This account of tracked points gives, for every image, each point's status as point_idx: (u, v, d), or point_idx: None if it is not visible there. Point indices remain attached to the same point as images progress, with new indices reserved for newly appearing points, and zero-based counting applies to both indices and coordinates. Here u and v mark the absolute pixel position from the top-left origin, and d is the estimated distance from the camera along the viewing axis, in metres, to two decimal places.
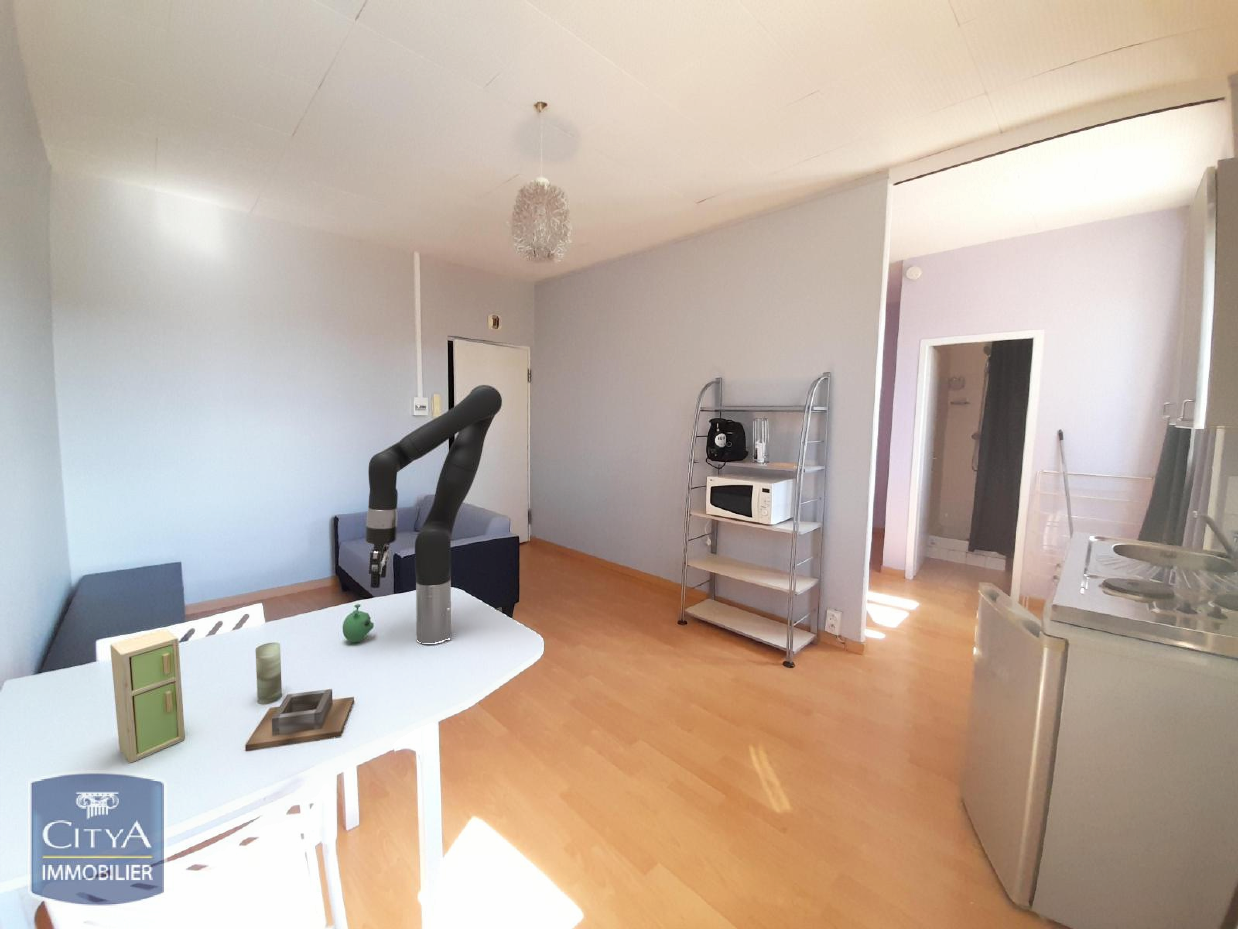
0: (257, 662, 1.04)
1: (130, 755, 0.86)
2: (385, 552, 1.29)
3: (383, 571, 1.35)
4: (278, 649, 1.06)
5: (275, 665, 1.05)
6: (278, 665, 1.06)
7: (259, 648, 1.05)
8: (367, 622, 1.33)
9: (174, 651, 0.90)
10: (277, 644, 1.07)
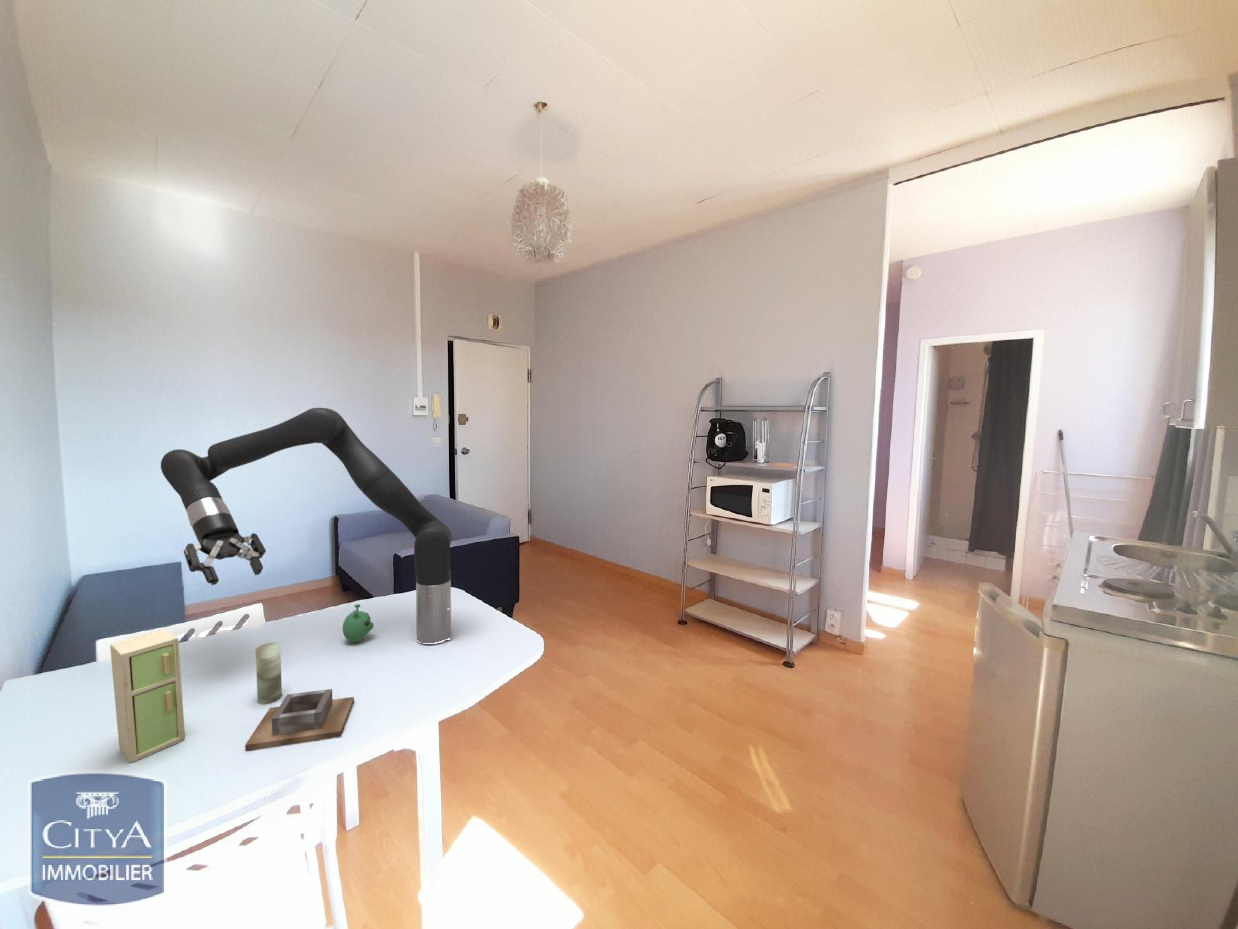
0: (257, 662, 1.04)
1: (130, 755, 0.86)
2: (215, 543, 1.09)
3: (255, 566, 1.13)
4: (278, 649, 1.06)
5: (275, 665, 1.05)
6: (278, 665, 1.06)
7: (259, 648, 1.05)
8: (367, 622, 1.33)
9: (174, 651, 0.90)
10: (277, 644, 1.07)
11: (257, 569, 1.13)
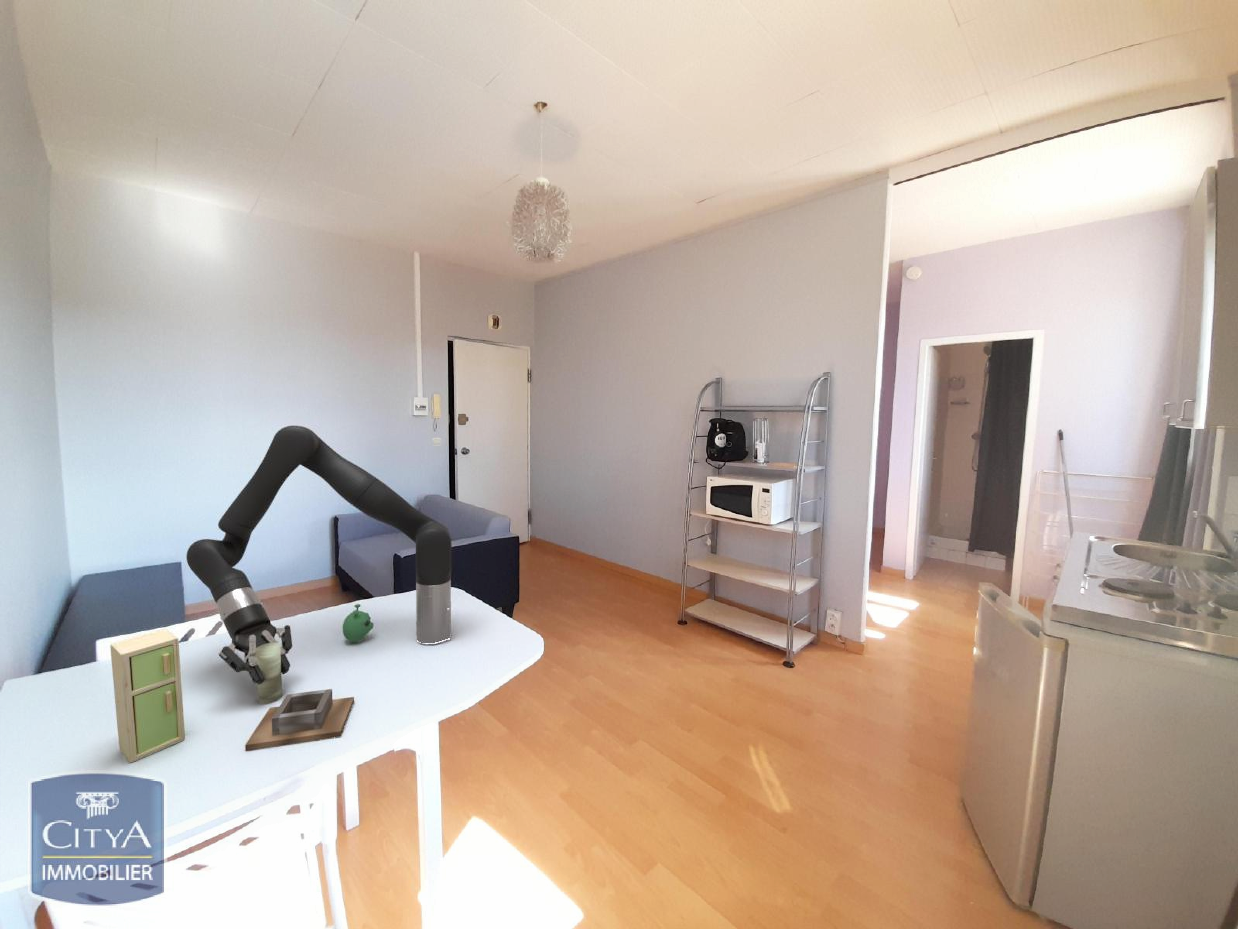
0: (257, 662, 1.04)
1: (130, 755, 0.86)
2: (248, 640, 1.05)
3: (281, 664, 1.08)
4: (278, 649, 1.06)
5: (275, 665, 1.05)
6: (278, 665, 1.06)
7: (259, 647, 1.05)
8: (367, 622, 1.33)
9: (174, 651, 0.90)
10: (277, 644, 1.07)
11: (284, 668, 1.07)
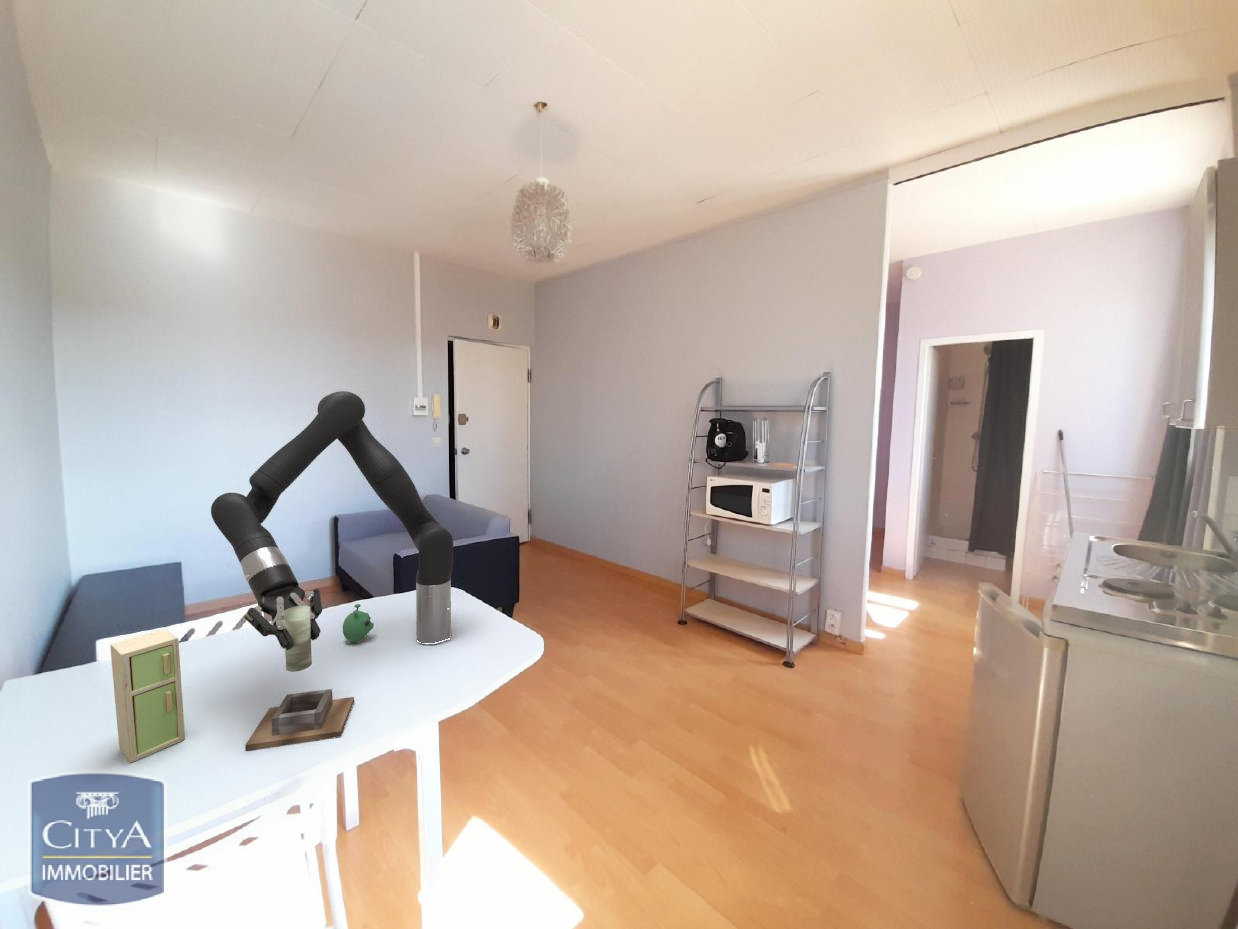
0: (286, 625, 0.95)
1: (130, 755, 0.86)
2: (276, 602, 0.96)
3: (311, 630, 0.99)
4: (308, 612, 0.97)
5: (304, 629, 0.96)
6: (308, 629, 0.97)
7: (287, 610, 0.96)
8: (367, 622, 1.33)
9: (174, 651, 0.90)
10: (306, 607, 0.98)
11: (314, 634, 0.98)
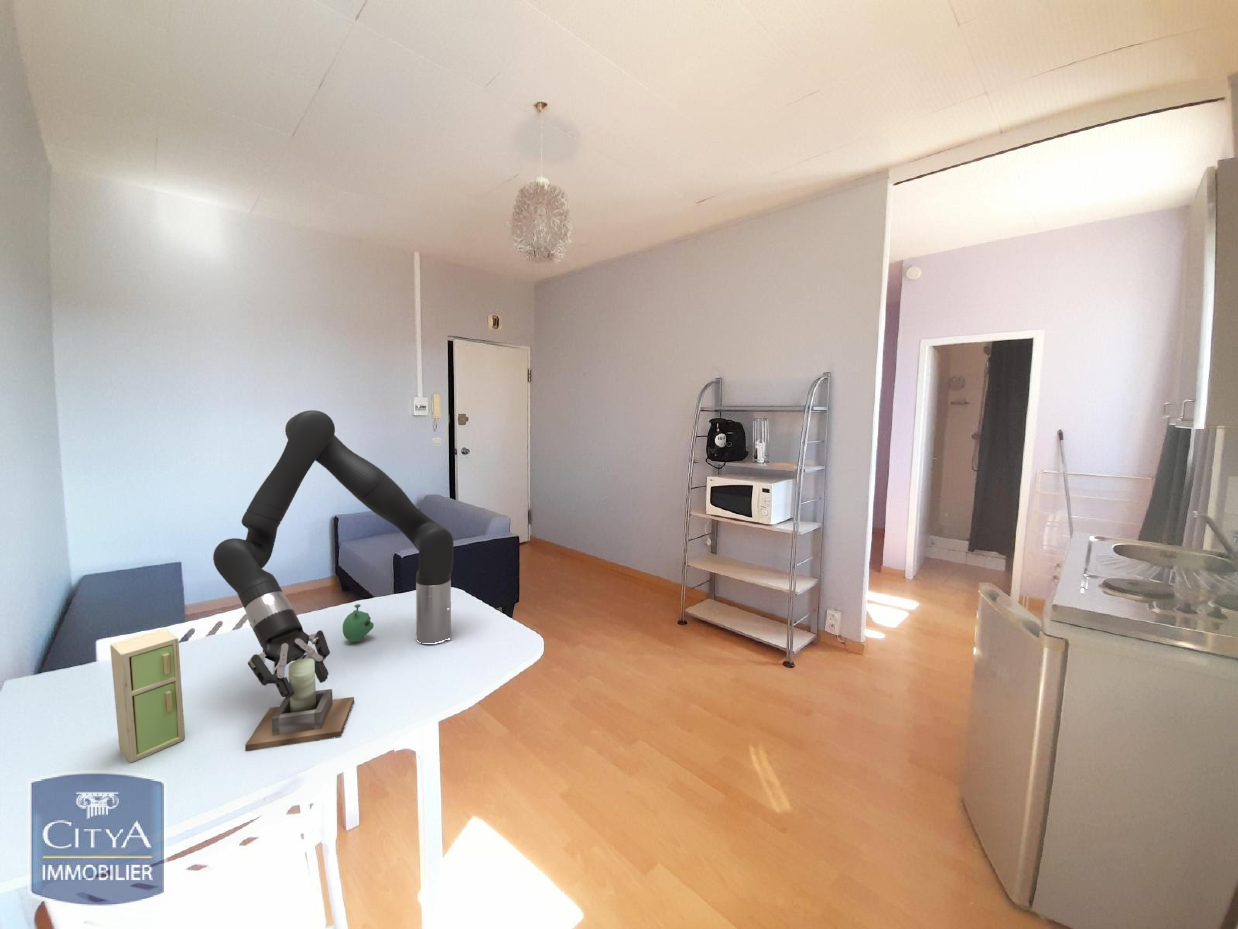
0: (290, 681, 0.95)
1: (130, 755, 0.86)
2: (280, 649, 0.97)
3: (319, 672, 1.00)
4: (313, 666, 0.97)
5: (309, 684, 0.97)
6: (313, 683, 0.97)
7: (292, 664, 0.97)
8: (367, 622, 1.33)
9: (174, 651, 0.90)
10: (311, 660, 0.98)
11: (322, 676, 0.99)
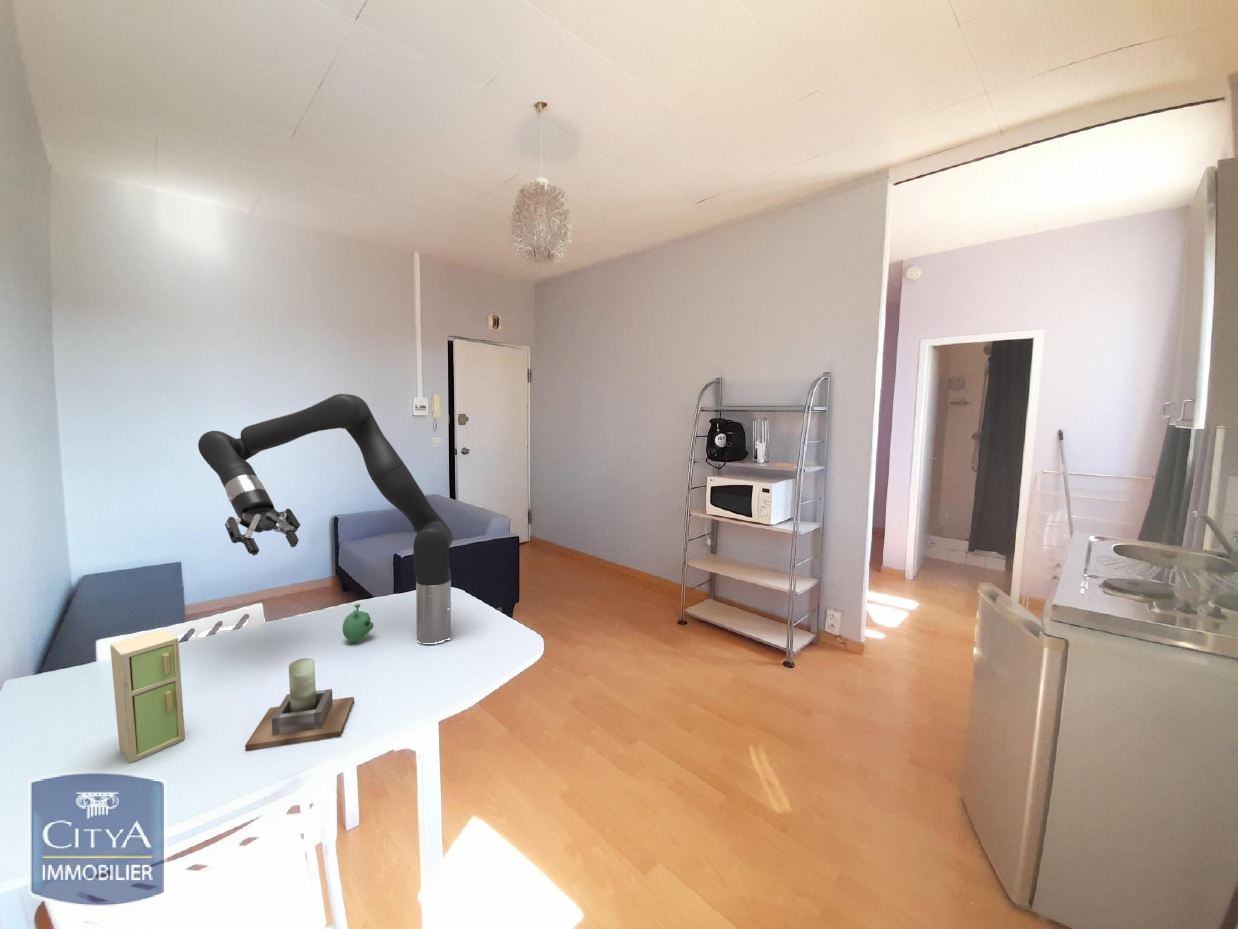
0: (290, 680, 0.95)
1: (130, 755, 0.86)
2: (253, 517, 1.15)
3: (291, 538, 1.19)
4: (313, 666, 0.97)
5: (309, 683, 0.97)
6: (313, 683, 0.98)
7: (292, 664, 0.97)
8: (367, 622, 1.33)
9: (174, 651, 0.90)
10: (311, 660, 0.98)
11: (293, 541, 1.19)
